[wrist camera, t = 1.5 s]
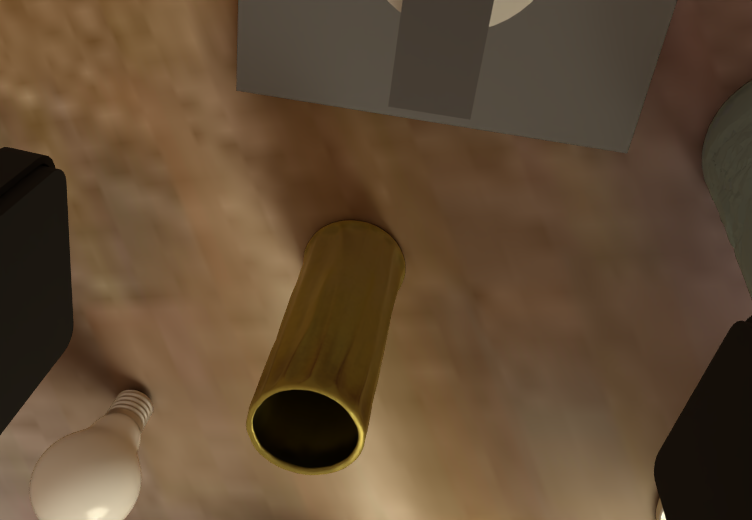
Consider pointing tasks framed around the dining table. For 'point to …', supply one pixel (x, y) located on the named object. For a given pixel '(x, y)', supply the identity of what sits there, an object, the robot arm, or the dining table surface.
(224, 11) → the dining table surface
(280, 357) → the vase
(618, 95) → the post base
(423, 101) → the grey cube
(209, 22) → the dining table surface
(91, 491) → the lightbulb
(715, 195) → the grey-green cup
